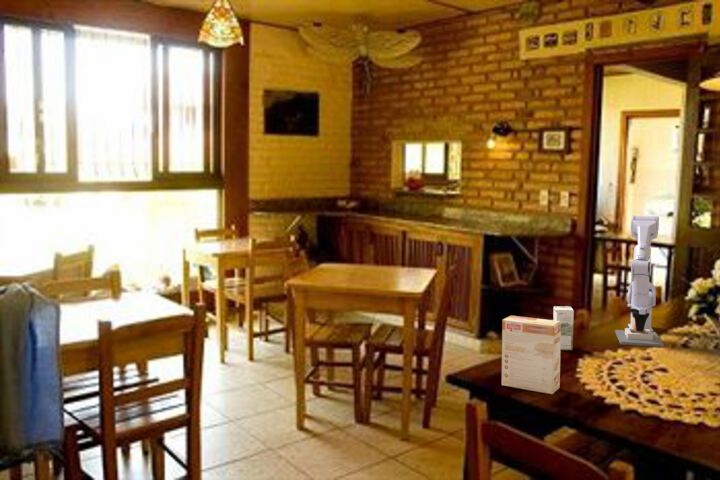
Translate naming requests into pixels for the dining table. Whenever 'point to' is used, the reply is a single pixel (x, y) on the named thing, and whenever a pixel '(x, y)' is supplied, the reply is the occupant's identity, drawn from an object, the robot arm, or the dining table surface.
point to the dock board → (638, 338)
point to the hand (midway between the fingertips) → (638, 329)
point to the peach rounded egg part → (635, 328)
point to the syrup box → (565, 325)
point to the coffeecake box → (531, 353)
